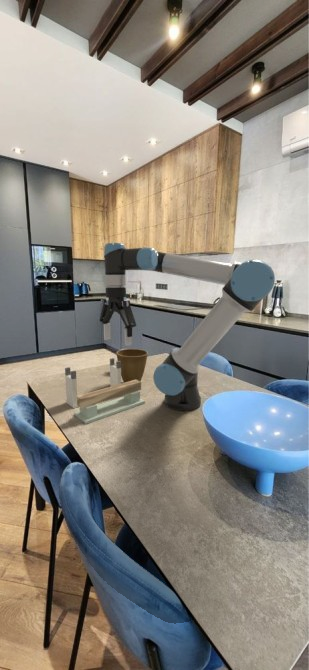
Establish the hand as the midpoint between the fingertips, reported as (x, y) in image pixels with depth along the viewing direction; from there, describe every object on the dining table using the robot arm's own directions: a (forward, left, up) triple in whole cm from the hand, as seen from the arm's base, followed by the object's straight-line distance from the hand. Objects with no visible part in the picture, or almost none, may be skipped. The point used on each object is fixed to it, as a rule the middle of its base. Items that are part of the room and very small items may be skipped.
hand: (117, 342), depth 109 cm
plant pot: (+15, -18, -27) cm, 36 cm away
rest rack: (-1, +4, -26) cm, 27 cm away
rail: (-1, +4, -21) cm, 22 cm away
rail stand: (+12, +4, -26) cm, 29 cm away
